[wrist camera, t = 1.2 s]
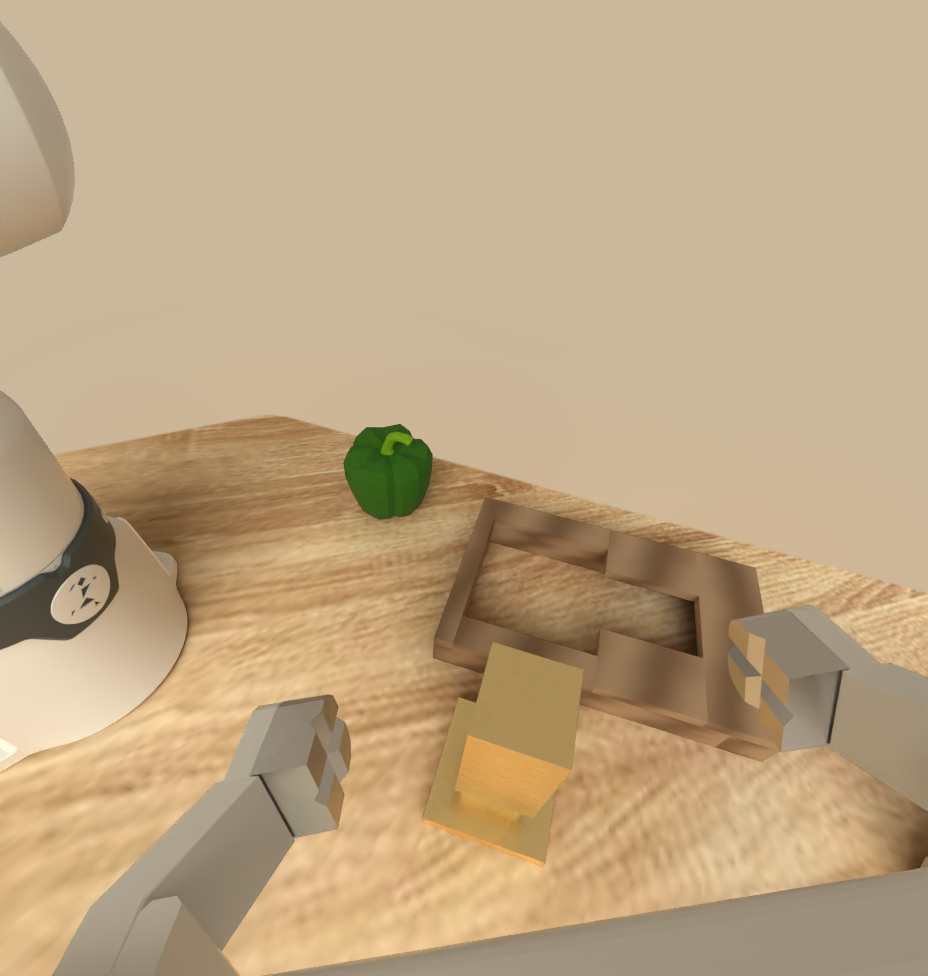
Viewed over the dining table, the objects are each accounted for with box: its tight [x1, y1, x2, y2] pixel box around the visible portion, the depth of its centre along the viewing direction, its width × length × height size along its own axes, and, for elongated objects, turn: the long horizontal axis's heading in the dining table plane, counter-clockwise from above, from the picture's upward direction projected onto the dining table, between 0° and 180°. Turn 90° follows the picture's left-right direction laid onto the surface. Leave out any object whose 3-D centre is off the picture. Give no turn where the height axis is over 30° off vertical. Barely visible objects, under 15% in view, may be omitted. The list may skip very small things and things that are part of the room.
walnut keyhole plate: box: [433, 497, 780, 762], centre depth 42 cm, size 26×16×4 cm, turn 74°
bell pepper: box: [344, 424, 433, 519], centre depth 48 cm, size 8×8×10 cm
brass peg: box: [422, 642, 583, 867], centre depth 29 cm, size 8×8×14 cm
